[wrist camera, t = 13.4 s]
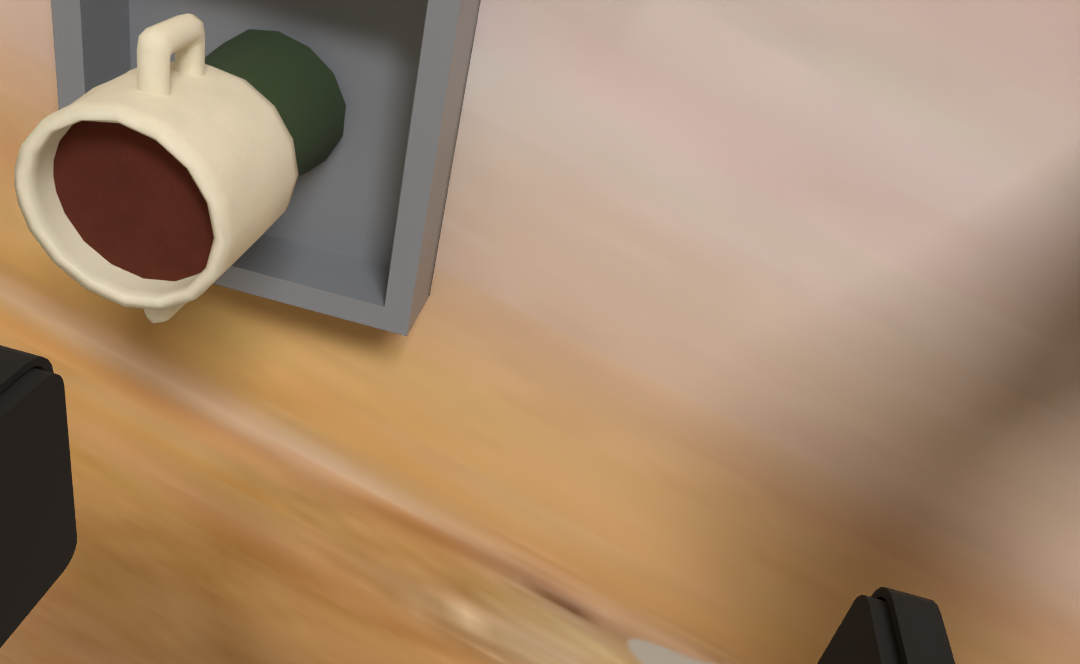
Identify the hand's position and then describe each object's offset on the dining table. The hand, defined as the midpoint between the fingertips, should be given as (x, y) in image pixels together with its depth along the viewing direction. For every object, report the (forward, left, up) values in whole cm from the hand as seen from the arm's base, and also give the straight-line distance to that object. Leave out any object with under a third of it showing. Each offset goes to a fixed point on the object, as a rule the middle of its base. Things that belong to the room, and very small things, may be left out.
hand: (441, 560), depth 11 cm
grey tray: (+14, +7, -30) cm, 34 cm away
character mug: (+14, +7, -30) cm, 34 cm away
